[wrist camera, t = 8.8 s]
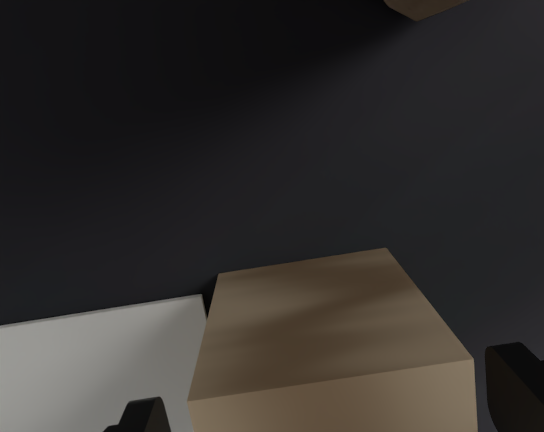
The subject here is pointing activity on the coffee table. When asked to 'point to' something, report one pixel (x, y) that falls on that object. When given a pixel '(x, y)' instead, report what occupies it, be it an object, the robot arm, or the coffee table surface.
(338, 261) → the oak block
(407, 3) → the wooden block
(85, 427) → the letter
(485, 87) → the coffee table surface
